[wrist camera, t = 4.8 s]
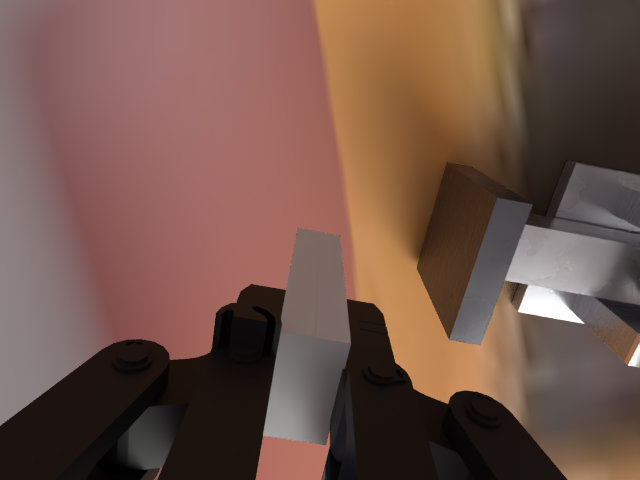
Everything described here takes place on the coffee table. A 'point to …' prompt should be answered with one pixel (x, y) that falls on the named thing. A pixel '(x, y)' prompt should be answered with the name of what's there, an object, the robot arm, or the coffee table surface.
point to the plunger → (513, 253)
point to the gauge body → (604, 211)
